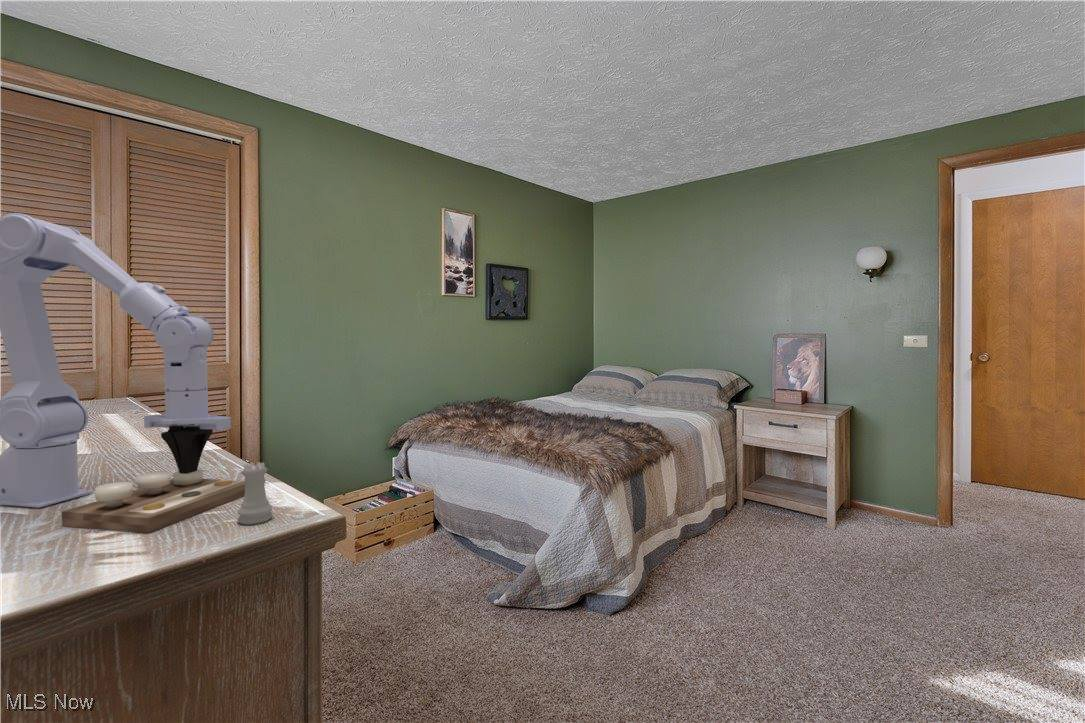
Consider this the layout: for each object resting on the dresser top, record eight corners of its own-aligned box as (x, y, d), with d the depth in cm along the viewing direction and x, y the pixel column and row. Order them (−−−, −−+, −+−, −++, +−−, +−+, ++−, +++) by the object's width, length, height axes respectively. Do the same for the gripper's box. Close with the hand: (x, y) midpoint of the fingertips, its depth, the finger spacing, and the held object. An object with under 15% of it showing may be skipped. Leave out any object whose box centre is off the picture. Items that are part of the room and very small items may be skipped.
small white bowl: (167, 491, 81) (166, 474, 81) (188, 484, 85) (188, 468, 85) (188, 493, 80) (188, 475, 80) (209, 486, 84) (208, 469, 84)
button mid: (130, 496, 75) (130, 477, 75) (155, 488, 79) (154, 470, 79) (153, 497, 75) (152, 478, 74) (177, 489, 78) (176, 472, 78)
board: (62, 525, 69) (61, 507, 69) (178, 488, 87) (178, 474, 87) (149, 533, 66) (148, 514, 66) (250, 493, 84) (250, 478, 84)
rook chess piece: (257, 527, 69) (256, 469, 69) (229, 524, 70) (228, 467, 70) (280, 516, 73) (279, 461, 73) (253, 513, 74) (252, 459, 74)
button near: (87, 509, 69) (87, 488, 69) (116, 500, 73) (116, 481, 73) (112, 510, 69) (111, 490, 68) (140, 501, 73) (139, 482, 72)
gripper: (125, 391, 80) (127, 476, 80) (204, 393, 77) (206, 481, 77) (165, 387, 86) (167, 465, 87) (240, 389, 84) (241, 469, 84)
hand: (188, 472), depth 83 cm, fingers closed, pressing on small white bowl
